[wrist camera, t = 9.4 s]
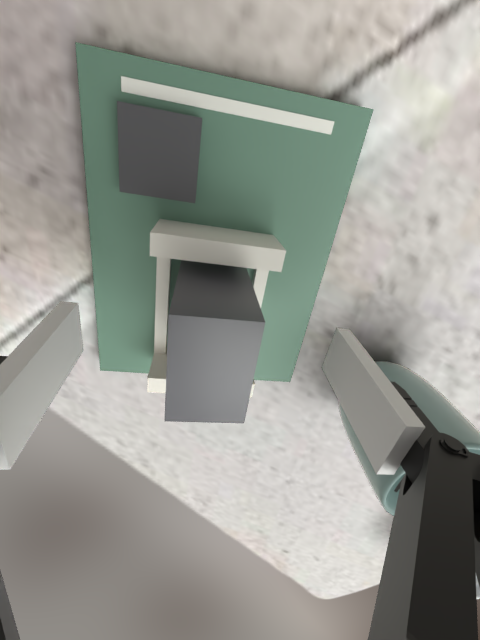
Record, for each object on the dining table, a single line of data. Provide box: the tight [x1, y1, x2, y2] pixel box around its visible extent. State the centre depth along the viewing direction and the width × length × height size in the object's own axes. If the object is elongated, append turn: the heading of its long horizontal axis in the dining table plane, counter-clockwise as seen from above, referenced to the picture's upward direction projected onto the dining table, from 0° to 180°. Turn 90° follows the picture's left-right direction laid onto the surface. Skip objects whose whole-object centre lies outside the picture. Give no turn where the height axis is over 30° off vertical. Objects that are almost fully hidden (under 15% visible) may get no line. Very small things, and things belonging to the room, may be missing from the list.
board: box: [75, 42, 374, 398], centre depth 18 cm, size 19×15×5 cm
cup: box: [338, 361, 480, 516], centre depth 23 cm, size 8×8×10 cm
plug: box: [165, 260, 265, 423], centre depth 17 cm, size 7×4×8 cm, turn 172°
